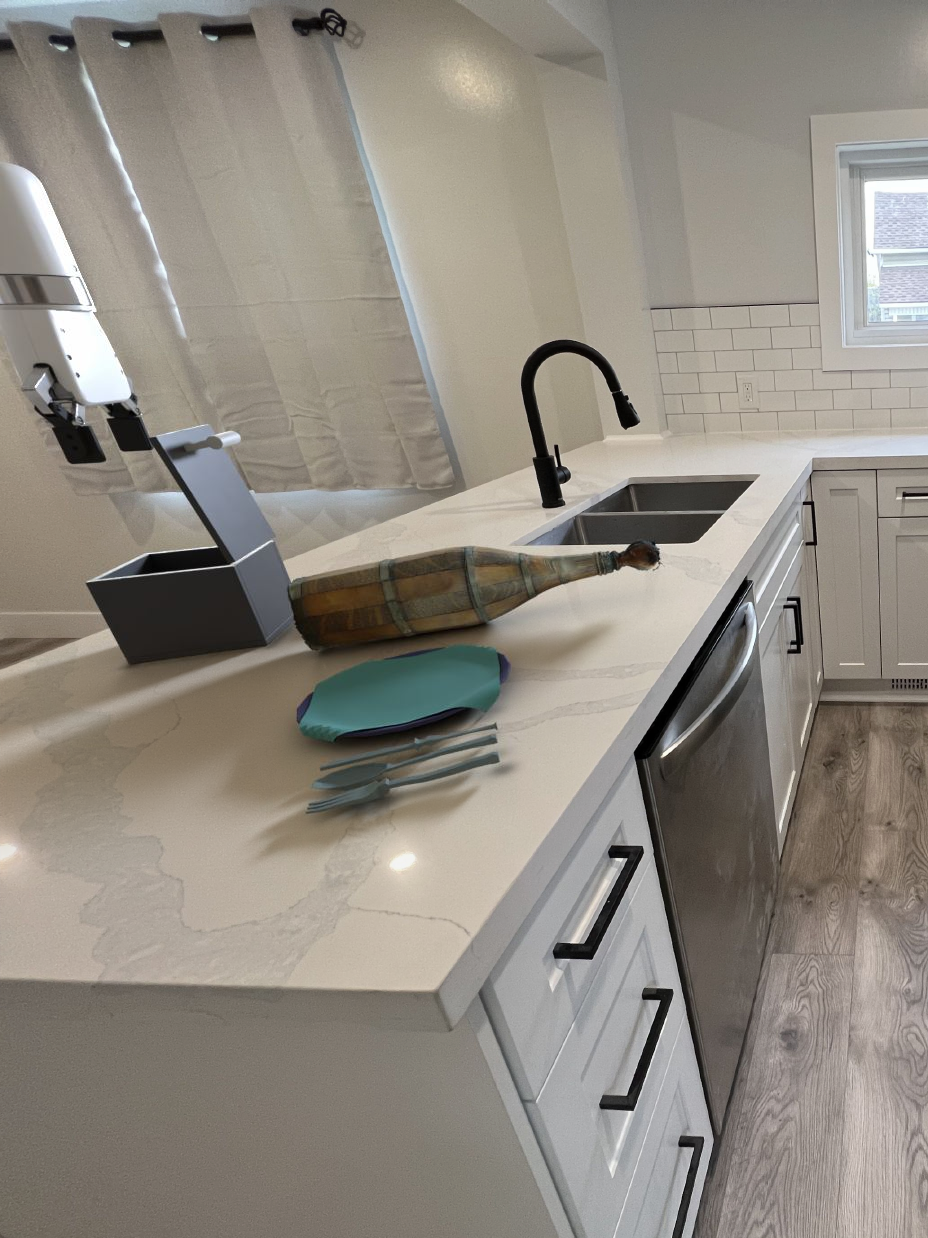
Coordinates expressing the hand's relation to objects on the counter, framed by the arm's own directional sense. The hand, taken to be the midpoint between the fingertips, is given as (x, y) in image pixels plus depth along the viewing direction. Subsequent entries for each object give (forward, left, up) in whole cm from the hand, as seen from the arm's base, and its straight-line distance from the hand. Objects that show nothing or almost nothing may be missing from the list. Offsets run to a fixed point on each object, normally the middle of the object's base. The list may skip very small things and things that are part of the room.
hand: (114, 456), depth 83 cm
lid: (+8, 0, -5) cm, 10 cm away
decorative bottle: (+38, -8, -24) cm, 46 cm away
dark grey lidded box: (+2, 0, -24) cm, 24 cm away
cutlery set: (+32, -36, -24) cm, 54 cm away
